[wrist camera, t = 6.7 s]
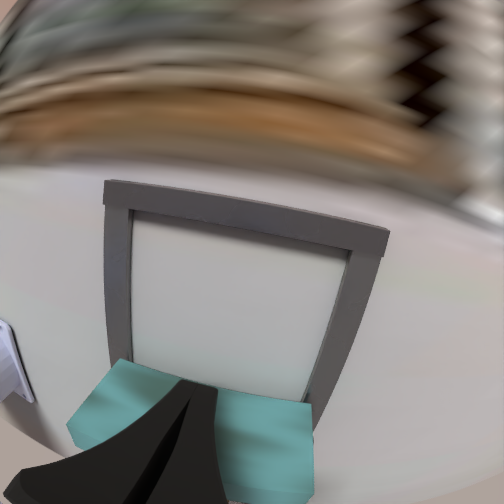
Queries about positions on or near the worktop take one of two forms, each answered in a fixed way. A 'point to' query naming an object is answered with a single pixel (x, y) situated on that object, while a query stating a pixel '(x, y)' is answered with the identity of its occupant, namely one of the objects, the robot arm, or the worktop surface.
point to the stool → (226, 433)
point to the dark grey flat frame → (256, 219)
